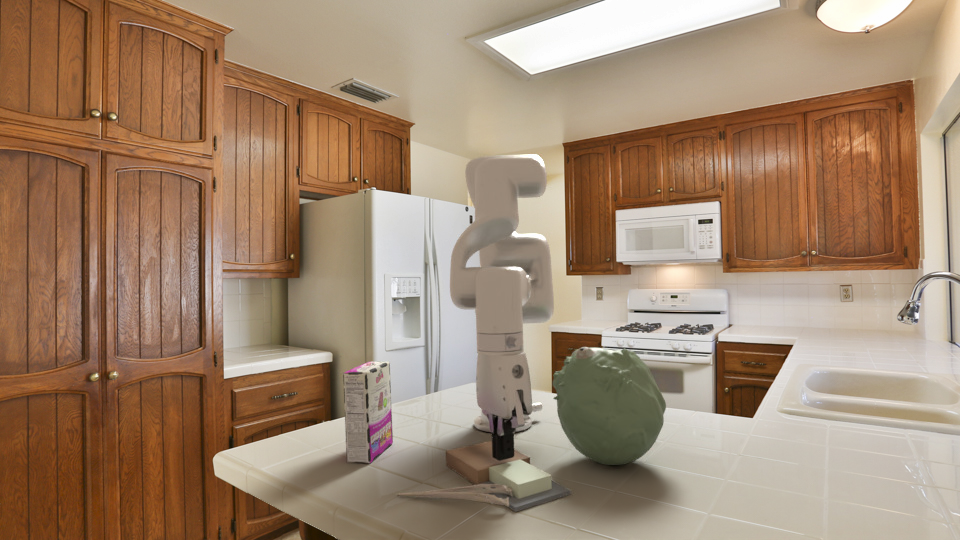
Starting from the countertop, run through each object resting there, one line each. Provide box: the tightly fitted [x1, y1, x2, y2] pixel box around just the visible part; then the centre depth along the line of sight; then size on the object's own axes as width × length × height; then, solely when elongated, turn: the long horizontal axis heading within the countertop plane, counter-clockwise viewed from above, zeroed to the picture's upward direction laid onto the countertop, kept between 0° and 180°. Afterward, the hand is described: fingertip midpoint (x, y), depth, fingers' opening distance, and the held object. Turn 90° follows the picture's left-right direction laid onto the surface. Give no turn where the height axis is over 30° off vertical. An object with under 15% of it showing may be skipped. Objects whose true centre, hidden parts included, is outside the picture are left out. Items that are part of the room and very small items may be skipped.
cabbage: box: [552, 346, 667, 466], centre depth 86 cm, size 16×19×20 cm
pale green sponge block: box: [489, 460, 552, 499], centre depth 76 cm, size 6×8×2 cm
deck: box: [445, 440, 531, 485], centre depth 85 cm, size 10×11×2 cm
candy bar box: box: [342, 360, 394, 464], centre depth 94 cm, size 11×5×16 cm, turn 168°
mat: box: [480, 479, 572, 513], centre depth 75 cm, size 10×10×1 cm
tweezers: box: [396, 484, 513, 508], centre depth 73 cm, size 18×5×2 cm, turn 75°
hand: (503, 457), depth 80 cm, fingers closed
